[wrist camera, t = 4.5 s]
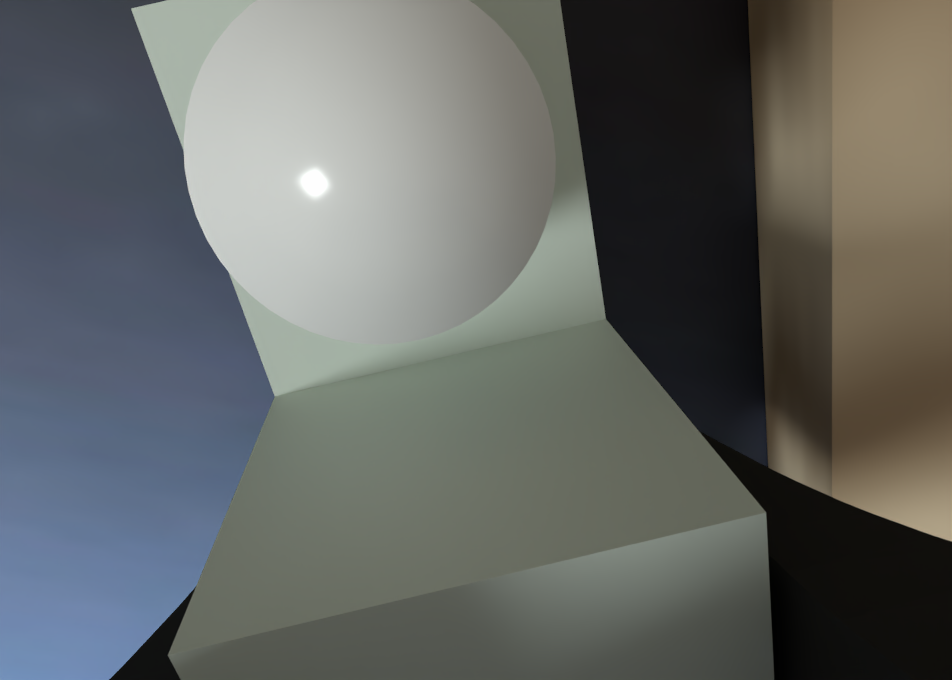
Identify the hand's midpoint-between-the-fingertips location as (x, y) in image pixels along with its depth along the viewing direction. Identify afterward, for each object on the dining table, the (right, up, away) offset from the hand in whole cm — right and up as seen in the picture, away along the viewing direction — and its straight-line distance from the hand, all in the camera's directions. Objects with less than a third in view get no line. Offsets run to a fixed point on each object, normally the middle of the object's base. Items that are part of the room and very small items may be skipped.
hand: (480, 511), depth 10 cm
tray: (0, +1, +2) cm, 2 cm away
